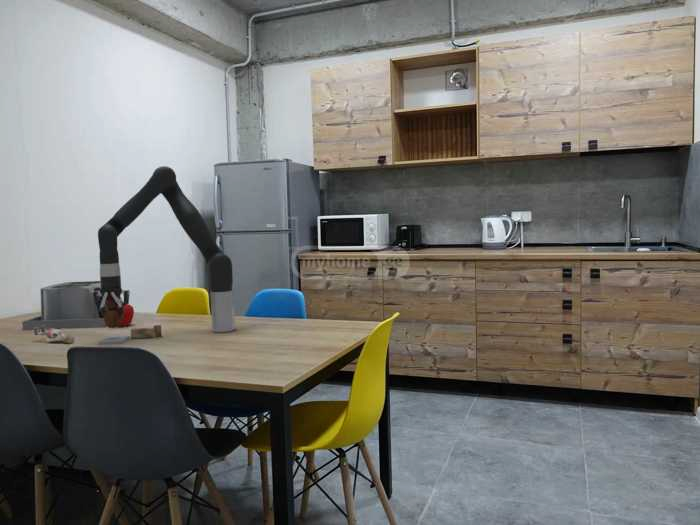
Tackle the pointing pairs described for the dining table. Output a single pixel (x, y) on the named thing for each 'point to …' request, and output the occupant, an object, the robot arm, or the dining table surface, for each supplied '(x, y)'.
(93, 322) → the toaster tray
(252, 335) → the dining table surface
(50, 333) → the figurine
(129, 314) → the apple
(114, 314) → the wooden figurine
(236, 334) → the dining table surface
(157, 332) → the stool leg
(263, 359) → the dining table surface
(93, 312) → the toaster
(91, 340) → the dining table surface
